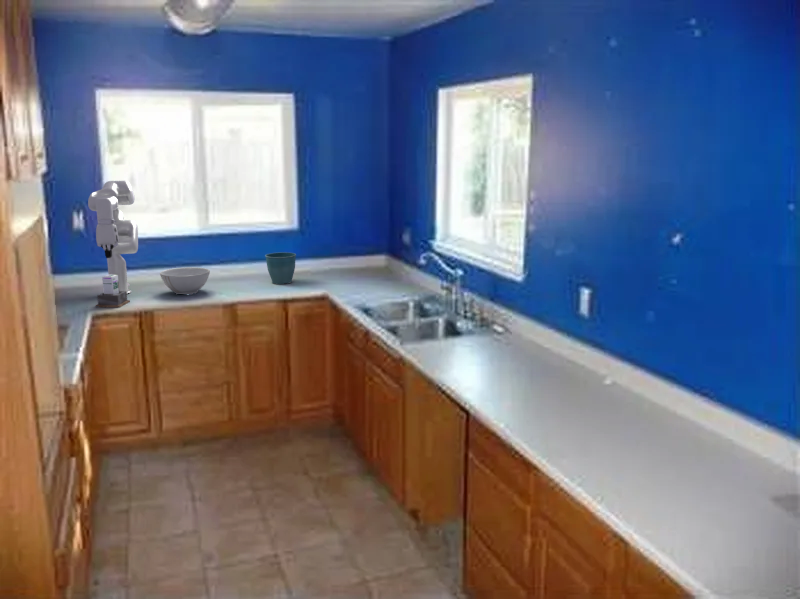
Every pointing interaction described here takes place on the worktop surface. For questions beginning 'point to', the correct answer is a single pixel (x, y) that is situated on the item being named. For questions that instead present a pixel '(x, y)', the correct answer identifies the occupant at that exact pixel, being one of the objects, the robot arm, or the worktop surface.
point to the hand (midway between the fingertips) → (108, 257)
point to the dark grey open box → (113, 300)
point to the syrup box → (110, 284)
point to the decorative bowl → (185, 279)
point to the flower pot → (281, 266)
